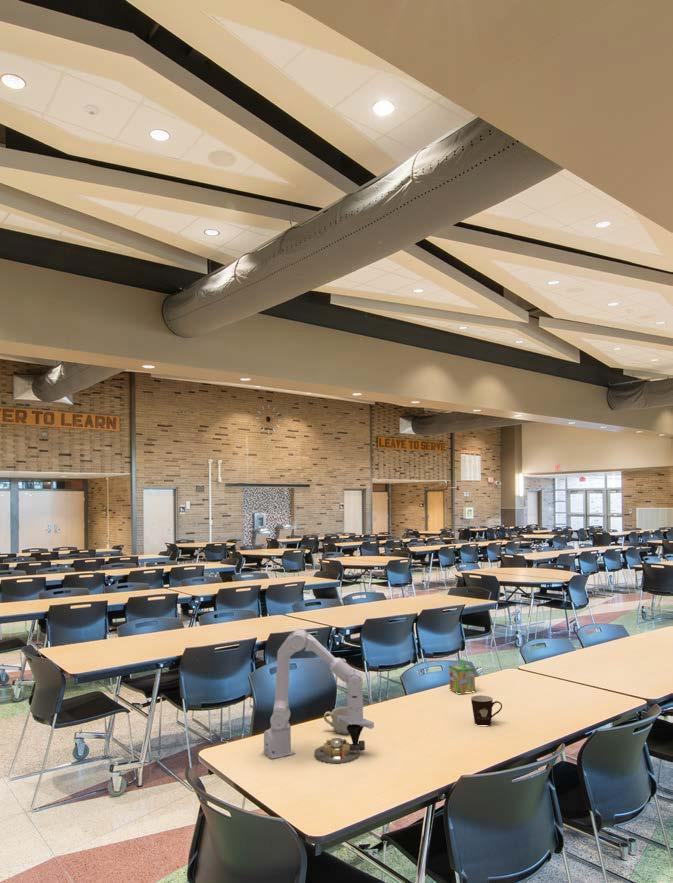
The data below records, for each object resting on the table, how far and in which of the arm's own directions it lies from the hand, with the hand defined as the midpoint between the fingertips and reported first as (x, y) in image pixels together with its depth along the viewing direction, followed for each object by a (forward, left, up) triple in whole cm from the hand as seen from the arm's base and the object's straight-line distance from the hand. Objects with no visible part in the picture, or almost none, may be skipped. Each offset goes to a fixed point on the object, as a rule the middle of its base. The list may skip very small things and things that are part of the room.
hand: (355, 745), depth 234 cm
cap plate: (-7, +1, -2) cm, 8 cm away
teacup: (+7, +22, -3) cm, 24 cm away
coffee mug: (+60, -3, -3) cm, 60 cm away
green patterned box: (+83, +39, -3) cm, 92 cm away
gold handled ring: (-5, 0, -1) cm, 5 cm away
